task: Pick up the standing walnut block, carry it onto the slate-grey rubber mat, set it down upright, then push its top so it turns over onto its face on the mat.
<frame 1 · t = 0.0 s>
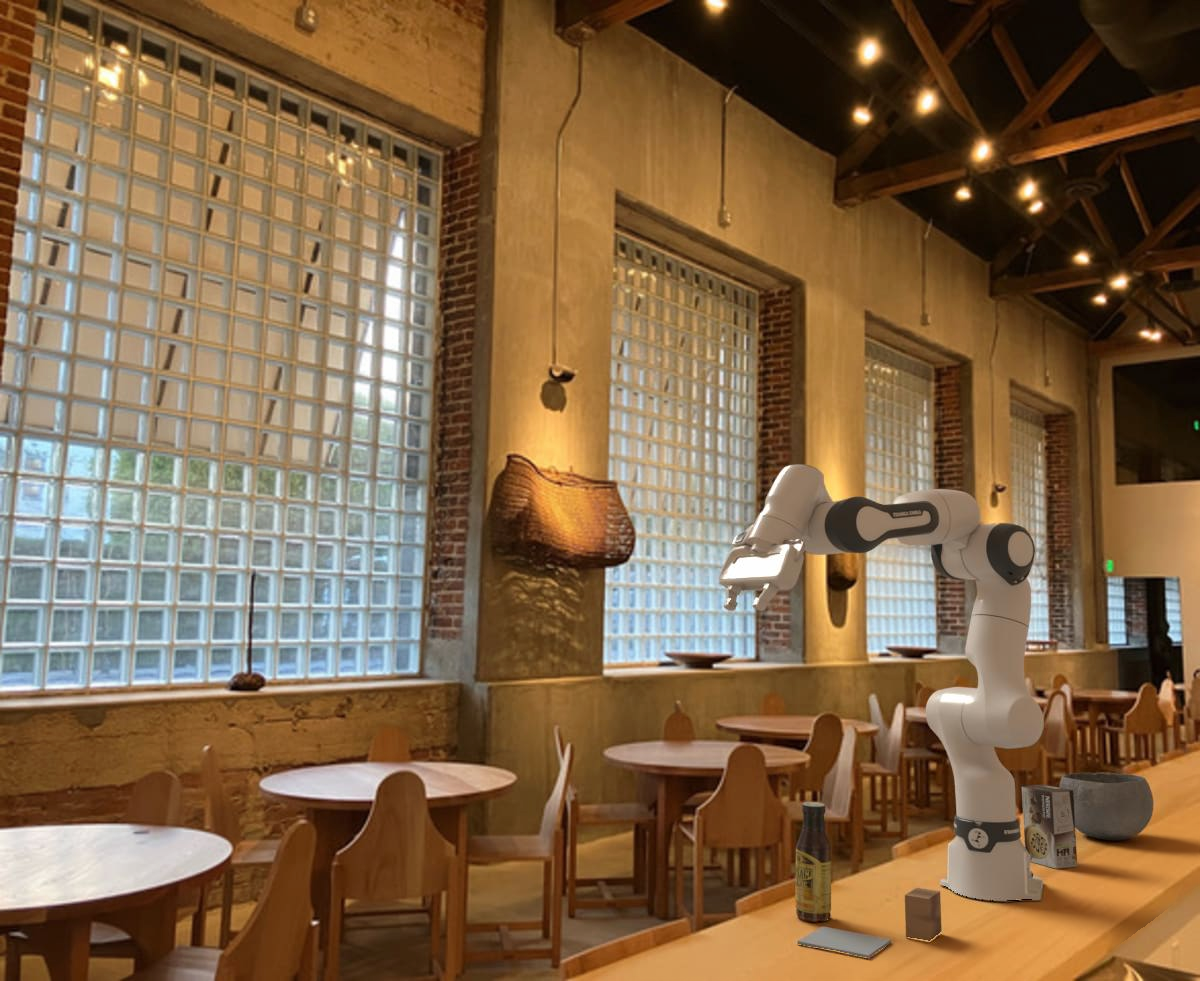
hand: (742, 609, 183), 54 cm above the table, tool tilted 30°, fingers open, 8 cm apart
bowl: (1107, 839, 251), on the table
coffee box: (1051, 864, 225), on the table
walnut block: (923, 936, 173), on the table
sauce bottle: (814, 919, 183), on the table
mat: (844, 944, 169), on the table
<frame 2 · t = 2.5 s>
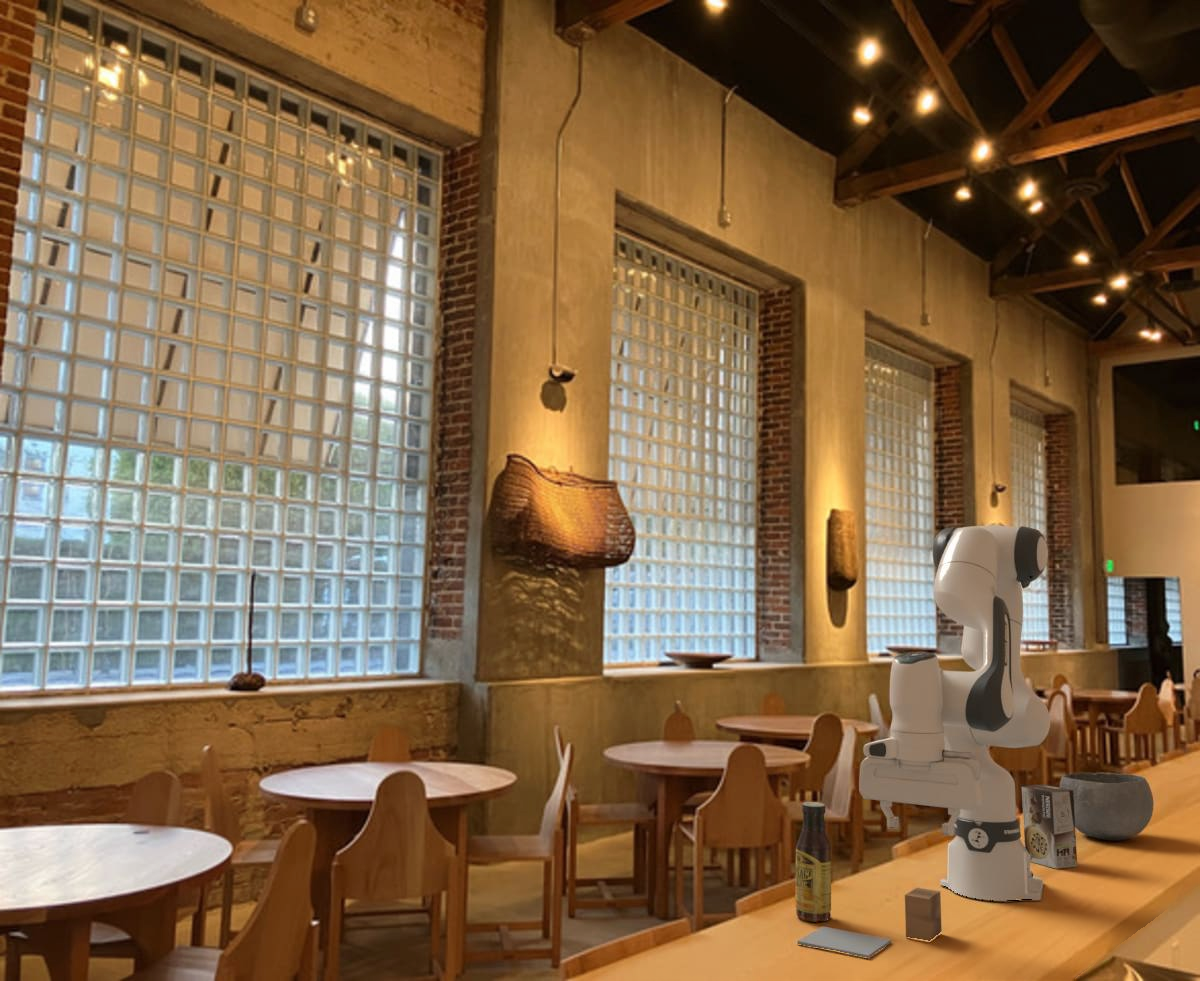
hand: (920, 831, 175), 17 cm above the table, tool pointing down, fingers open, 8 cm apart
nothing on the table moved.
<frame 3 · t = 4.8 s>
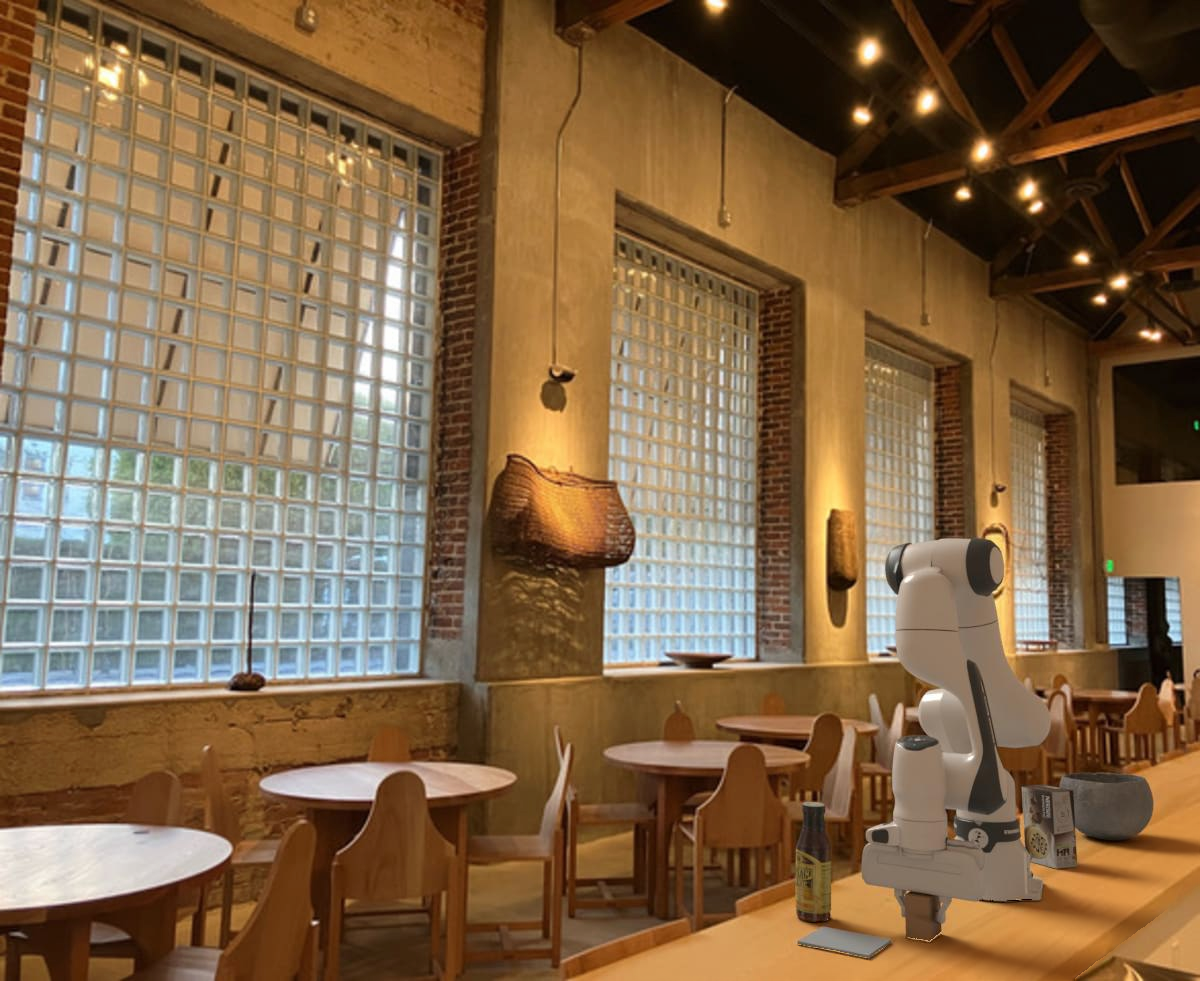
hand: (923, 919, 173), 3 cm above the table, tool pointing down, fingers closed on walnut block, 4 cm apart
walnut block: (923, 936, 173), on the table, touching gripper
everything else where it was.
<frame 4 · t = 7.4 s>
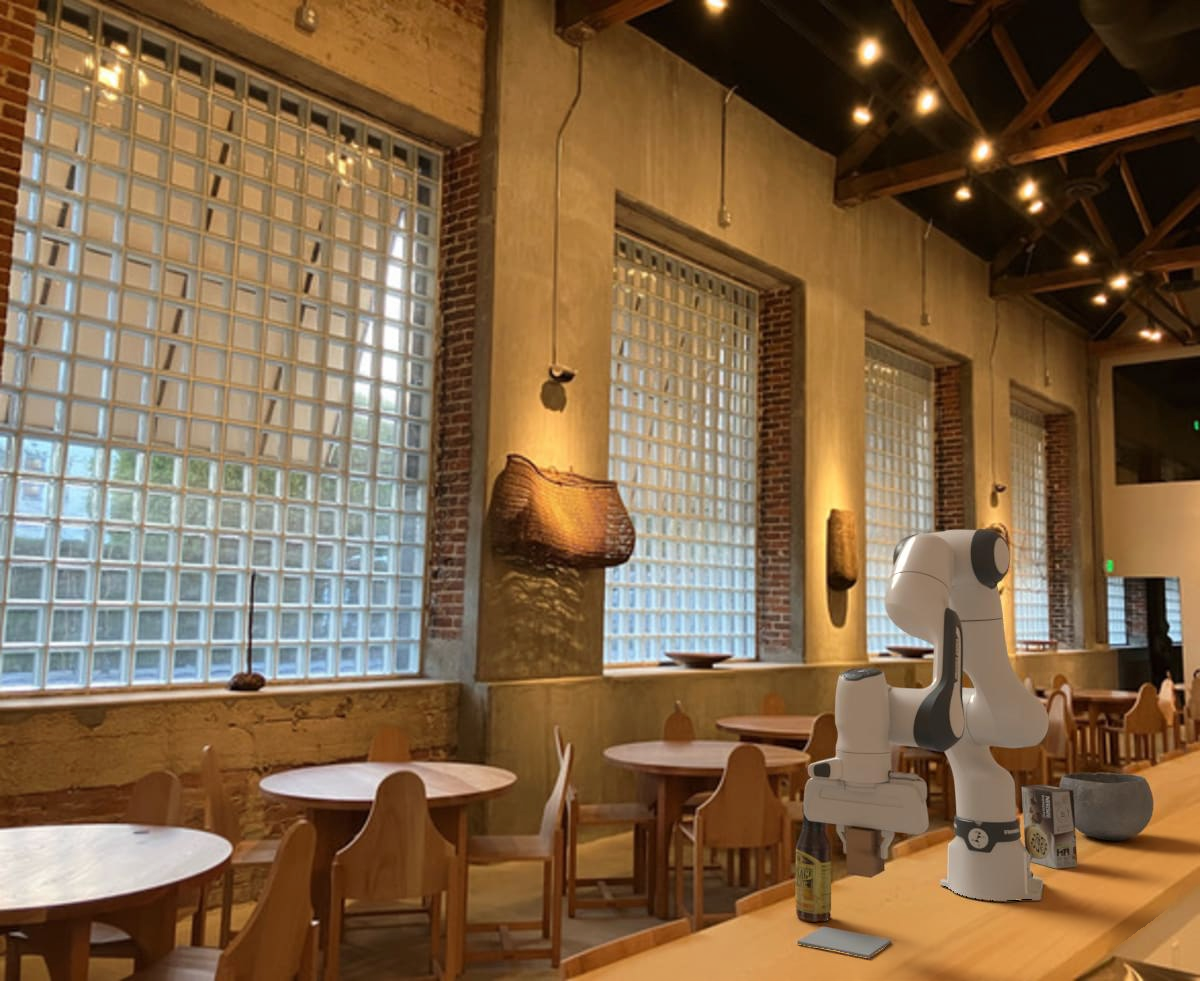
hand: (865, 855, 168), 14 cm above the table, tool pointing down, fingers closed on walnut block, 4 cm apart
walnut block: (865, 872, 168), point 12 cm above the table, touching gripper
everything else where it was.
when the fingers open (4 cm above the table, at t = 9.9 s): walnut block stays where it is, resting on mat.
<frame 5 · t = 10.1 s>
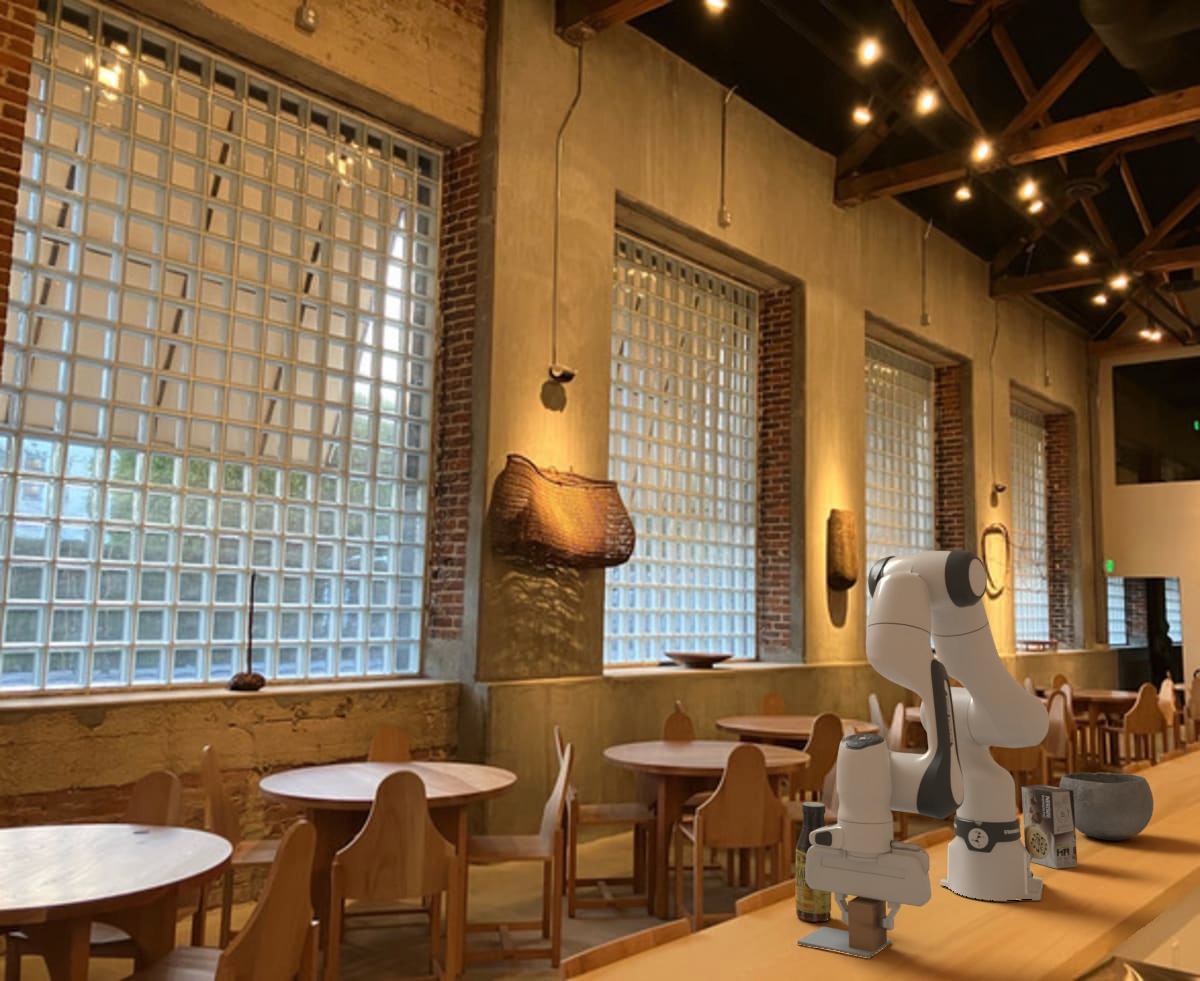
hand: (867, 925, 167), 4 cm above the table, tool pointing down, fingers open, 5 cm apart
walnut block: (868, 944, 166), point 1 cm above the table, touching mat
everything else where it was.
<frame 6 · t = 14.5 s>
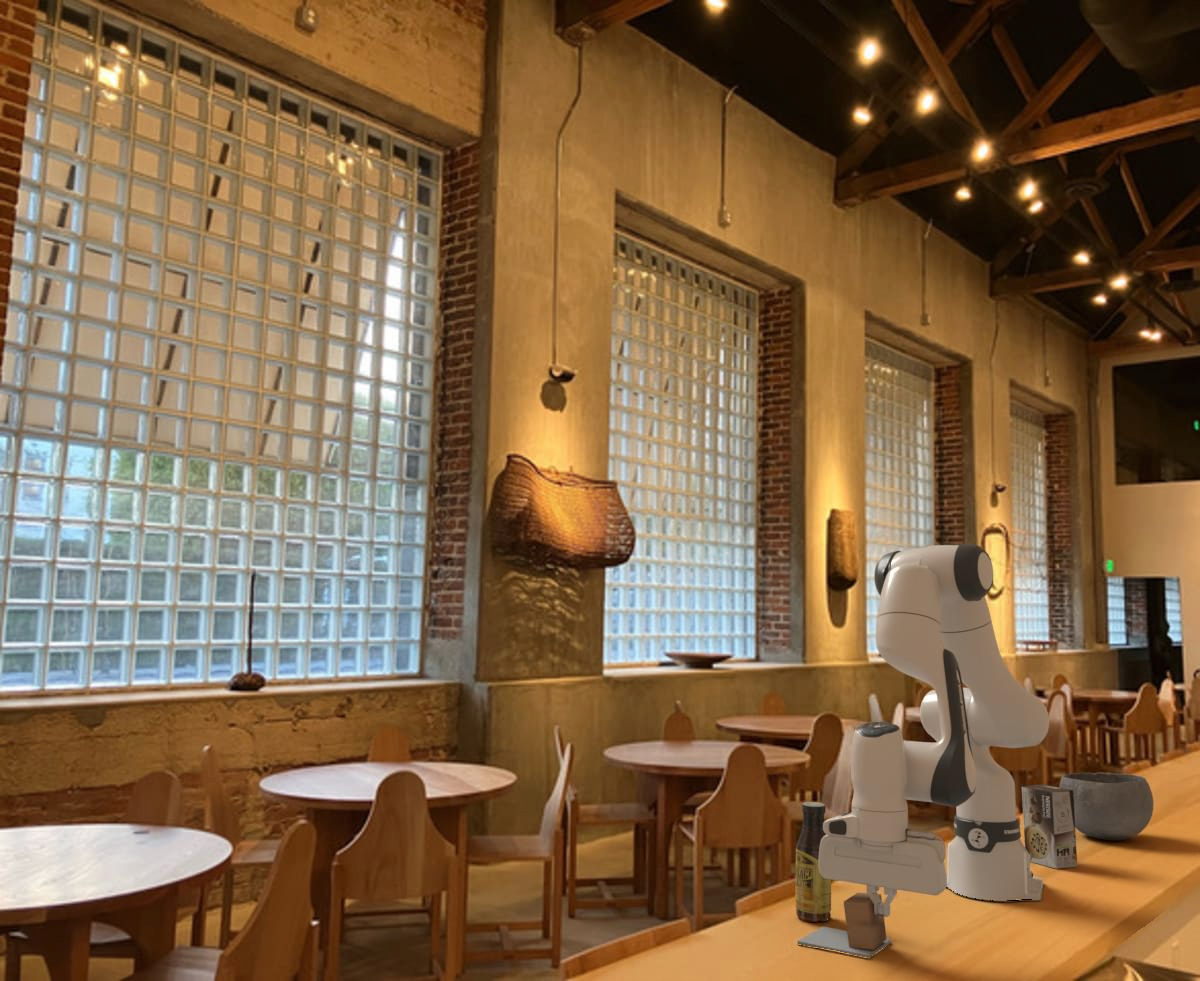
hand: (882, 915, 165), 6 cm above the table, tool pointing down, fingers closed
walnut block: (868, 943, 166), point 1 cm above the table, tilted 6°, touching gripper, mat
everything else where it was.
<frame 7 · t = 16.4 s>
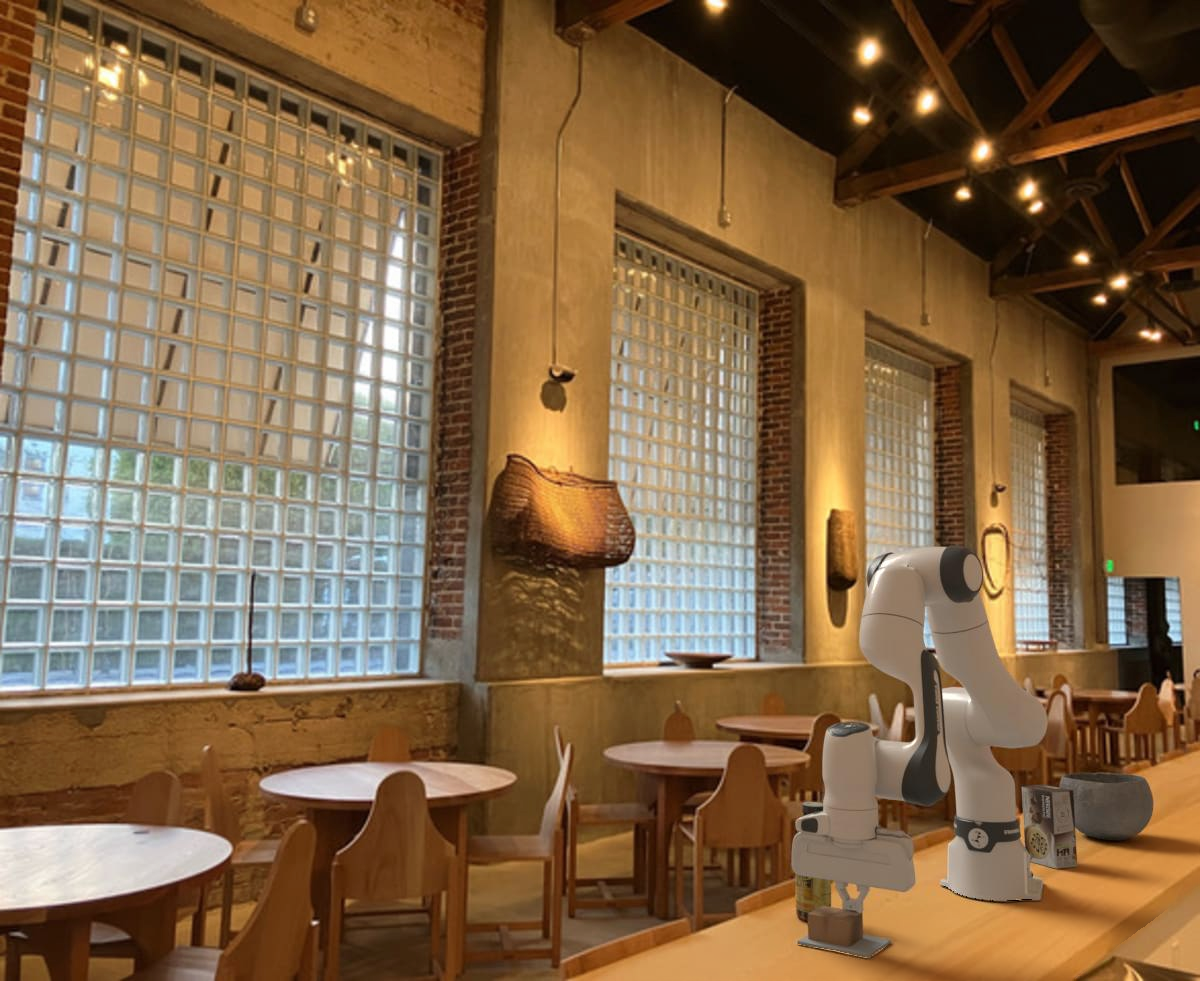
hand: (853, 911, 168), 5 cm above the table, tool pointing down, fingers closed
walnut block: (855, 929, 168), point 3 cm above the table, tilted 90°, touching mat
everything else where it was.
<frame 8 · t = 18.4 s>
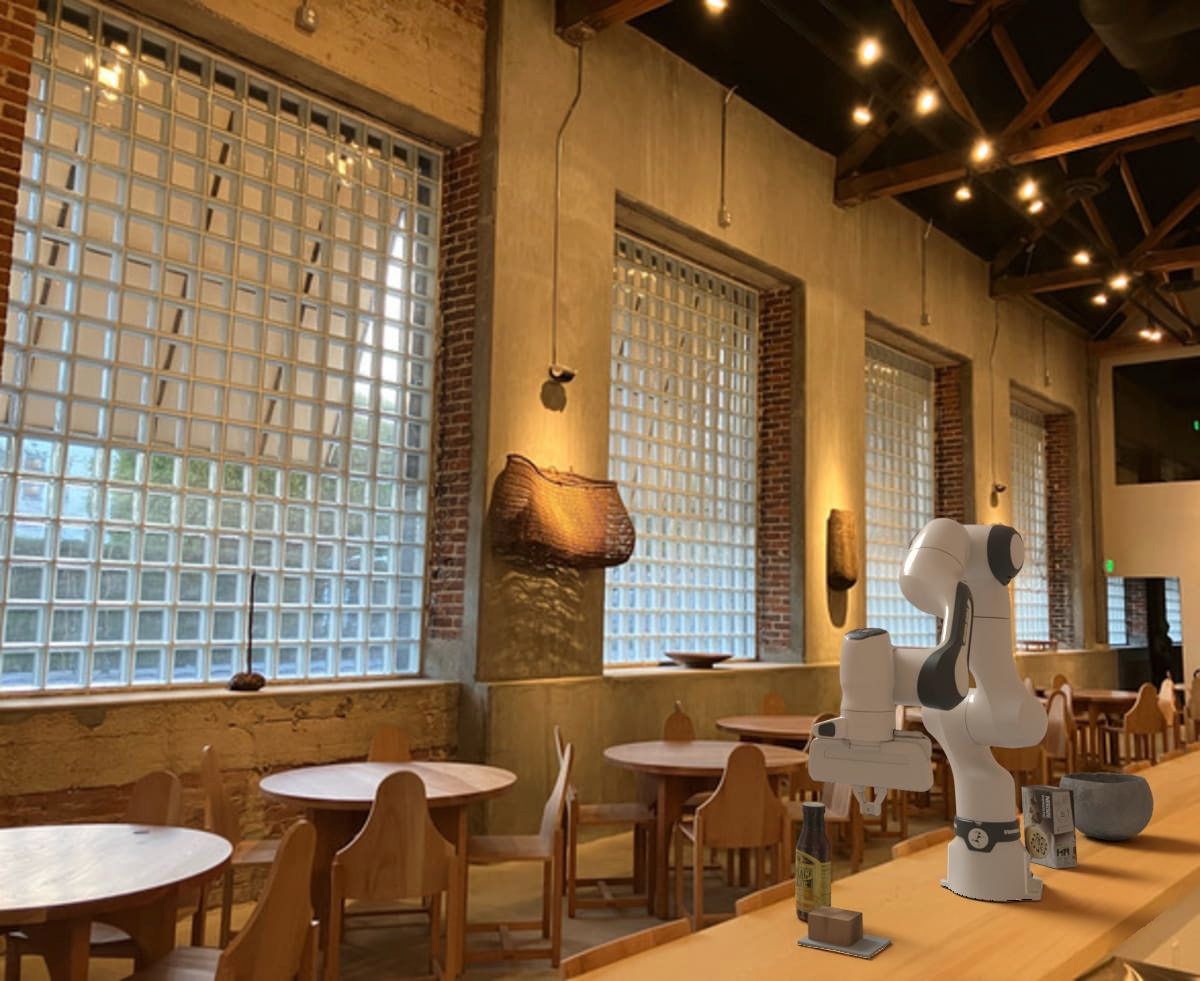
hand: (870, 814, 168), 21 cm above the table, tool pointing down, fingers closed
nothing on the table moved.
at the end: walnut block tilted 90°; walnut block inside the target area (3.5 cm from its centre), point 2.6 cm above the table; the gripper is holding nothing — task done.
